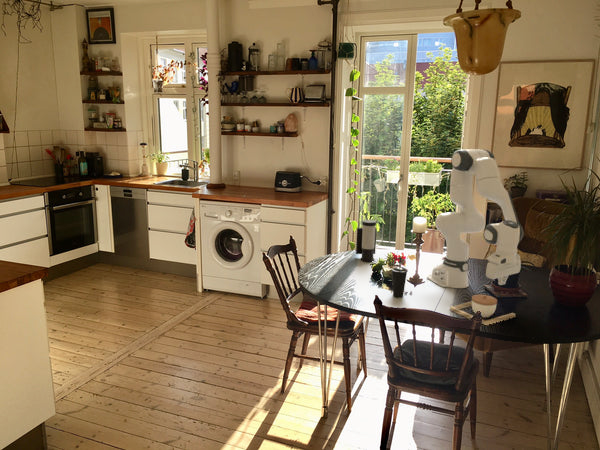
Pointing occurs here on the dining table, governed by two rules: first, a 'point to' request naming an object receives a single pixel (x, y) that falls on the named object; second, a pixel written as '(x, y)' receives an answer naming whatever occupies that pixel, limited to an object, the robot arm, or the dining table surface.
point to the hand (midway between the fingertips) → (501, 284)
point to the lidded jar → (484, 304)
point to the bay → (467, 315)
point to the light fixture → (366, 240)
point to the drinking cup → (399, 280)
